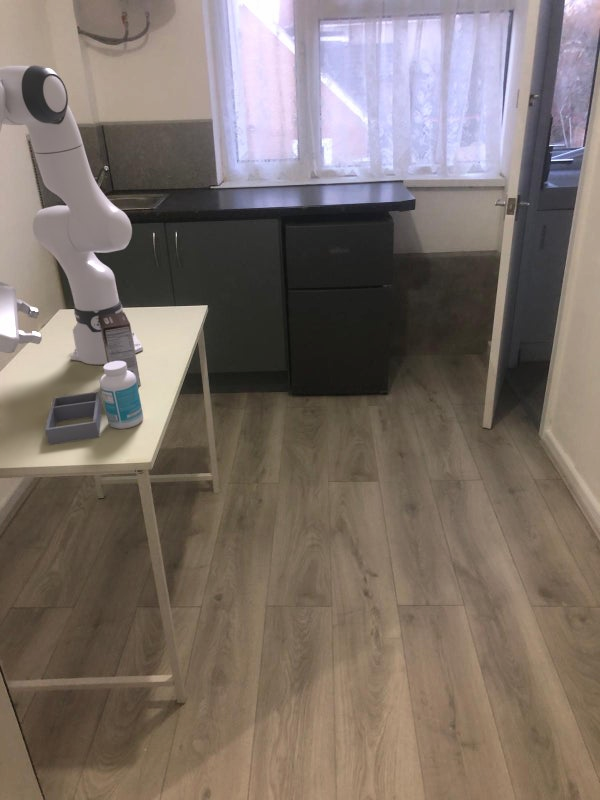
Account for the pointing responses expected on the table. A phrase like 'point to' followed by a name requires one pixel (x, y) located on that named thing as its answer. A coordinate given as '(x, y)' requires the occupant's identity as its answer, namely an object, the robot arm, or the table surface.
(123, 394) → the pill bottle
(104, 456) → the table surface
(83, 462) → the table surface
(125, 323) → the coffee box
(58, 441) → the parts tub
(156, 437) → the table surface
